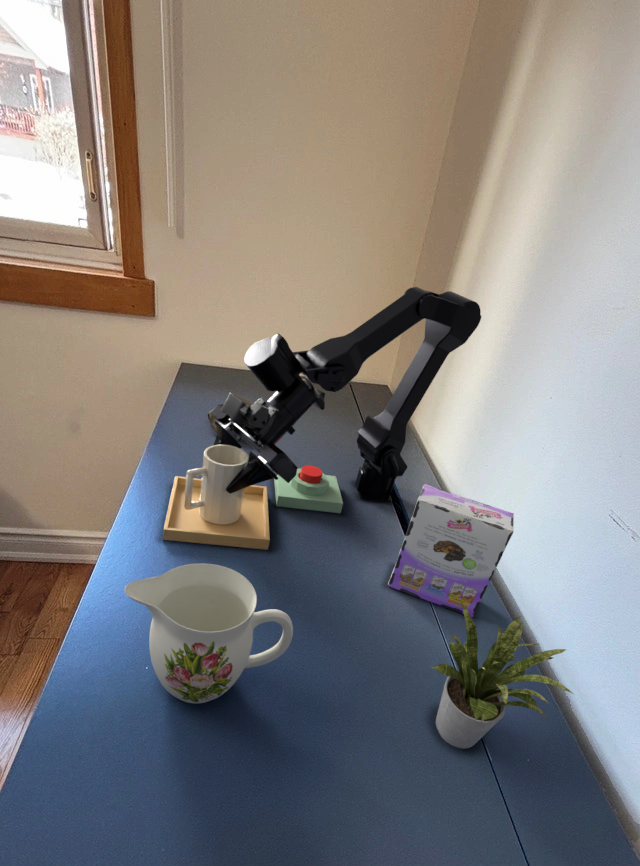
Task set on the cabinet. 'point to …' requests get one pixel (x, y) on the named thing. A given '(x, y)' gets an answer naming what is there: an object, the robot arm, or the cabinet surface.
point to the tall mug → (217, 484)
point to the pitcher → (204, 629)
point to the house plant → (485, 684)
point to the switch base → (309, 494)
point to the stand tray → (195, 529)
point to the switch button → (311, 474)
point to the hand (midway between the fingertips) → (216, 480)
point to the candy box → (451, 549)
